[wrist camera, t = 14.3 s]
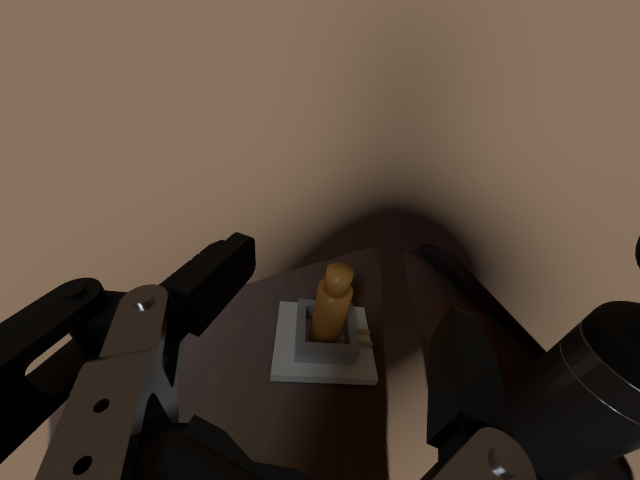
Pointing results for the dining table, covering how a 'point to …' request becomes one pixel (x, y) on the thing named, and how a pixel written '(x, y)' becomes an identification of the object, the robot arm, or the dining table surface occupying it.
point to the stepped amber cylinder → (332, 304)
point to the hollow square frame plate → (322, 348)
